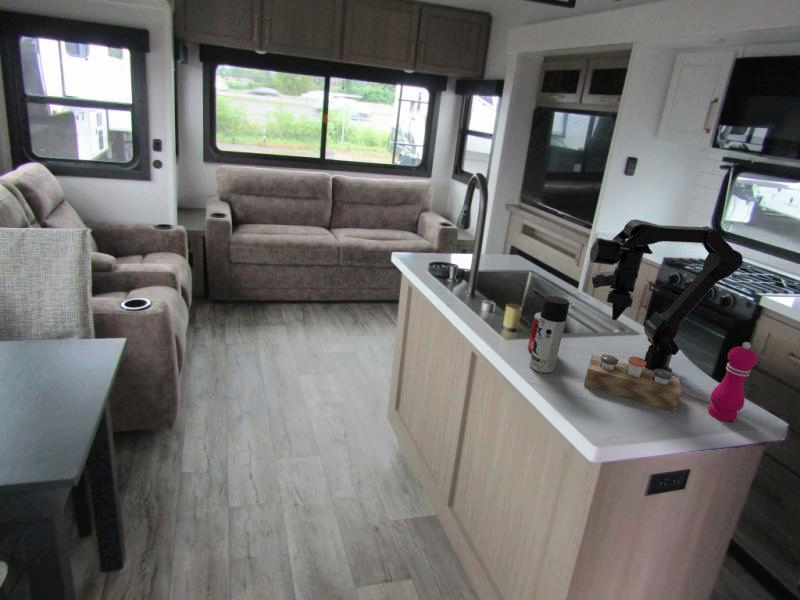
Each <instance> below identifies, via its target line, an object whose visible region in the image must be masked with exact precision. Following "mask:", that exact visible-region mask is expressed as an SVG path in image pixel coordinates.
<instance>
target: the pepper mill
mask: <svg viewBox="0 0 800 600" xmlns="http://www.w3.org/2000/svg"><path fill="white" fill-rule="evenodd" d="M751 348H752V345H751V342H748V341H744V342H743V343H742V346H741V345H740V346H734V347H733V348H731V349H729V352H728V353H727V360H728V362H727V364H726V367H725V369H726V373H725V375H724V378H723V379H722V381H720V383H718V384H717V386H715V387H714V388H713V390H712V392H711V394H710V400H711V401H712V403H710V404H709V406H708V409H707V412H708V413H709V415H711V416H712V417H713V418H716V419H718V420H720V421H723V420H725V421H724V422H727V421H733V422H735V421H736V420H737V418H738V414H739V412H738V411H741V410H742V409H743V408H744V406H745V401H746V400H745V399H746V398H745V390H744V384H745V382H746V381H745V380H746V378H747V377H749V376H750V373H751V369H752V368H754V367H755V366H756V364H757V362H758V356H757V353H756V352H755V351H754V350H752V349H751ZM734 420H735V421H734Z"/></svg>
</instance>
